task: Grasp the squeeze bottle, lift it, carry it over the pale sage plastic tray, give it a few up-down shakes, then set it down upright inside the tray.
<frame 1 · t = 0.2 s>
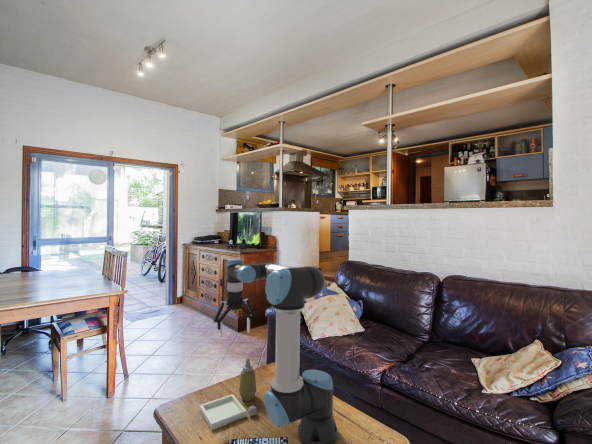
hand: (235, 333, 147), 27 cm above the table, fingers open, 13 cm apart
tray: (222, 413, 127), on the table
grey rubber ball: (252, 415, 126), on the table
squeeze bottle: (247, 398, 139), on the table
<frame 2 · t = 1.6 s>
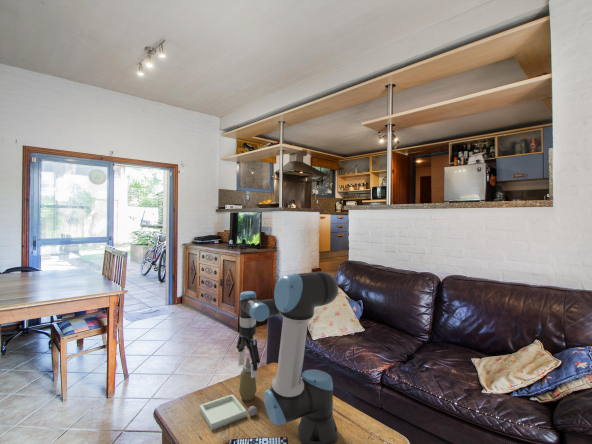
hand: (247, 370, 140), 12 cm above the table, fingers open, 13 cm apart
nothing on the table moved.
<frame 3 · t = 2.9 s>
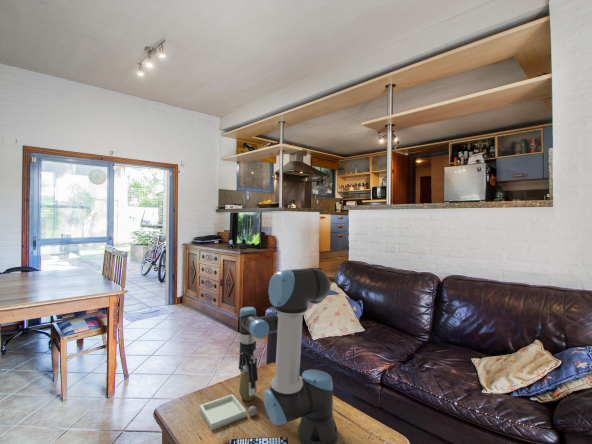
hand: (247, 390, 139), 3 cm above the table, fingers closed on squeeze bottle, 8 cm apart
squeeze bottle: (247, 398, 139), on the table, touching gripper
everything else where it was.
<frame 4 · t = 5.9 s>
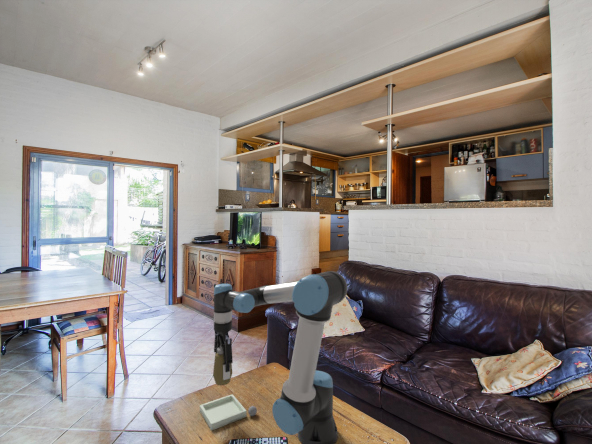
hand: (222, 374, 127), 17 cm above the table, fingers closed on squeeze bottle, 8 cm apart
squeeze bottle: (222, 382, 127), point 13 cm above the table, touching gripper
everything else where it was.
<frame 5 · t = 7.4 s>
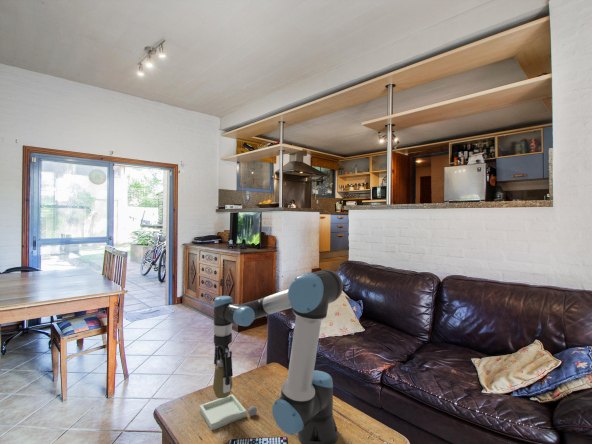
hand: (222, 387, 127), 11 cm above the table, fingers closed on squeeze bottle, 8 cm apart
squeeze bottle: (222, 395, 127), point 8 cm above the table, touching gripper
everything else where it was.
when the fingers open (6 cm above the table, at t = 8.8 s): squeeze bottle drops 1 cm, resting on tray.
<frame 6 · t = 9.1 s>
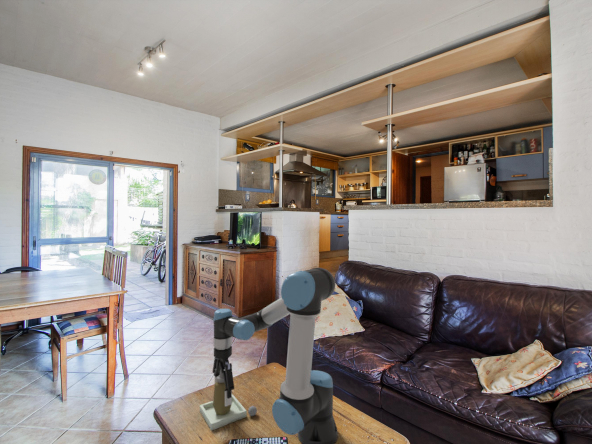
hand: (222, 397, 127), 7 cm above the table, fingers open, 11 cm apart
squeeze bottle: (222, 412, 127), point 1 cm above the table, touching tray
everything else where it was.
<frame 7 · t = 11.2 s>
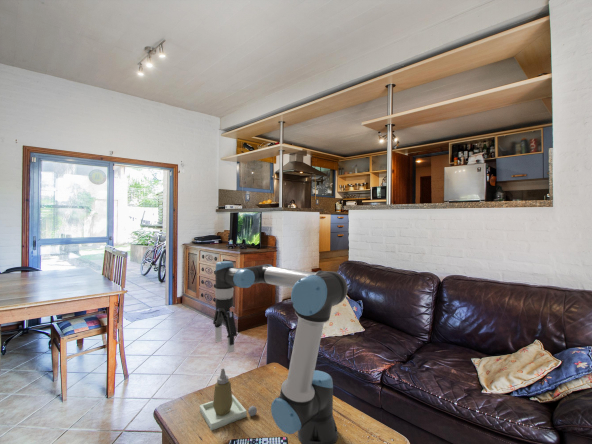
hand: (224, 346, 130), 28 cm above the table, fingers open, 13 cm apart
nothing on the table moved.
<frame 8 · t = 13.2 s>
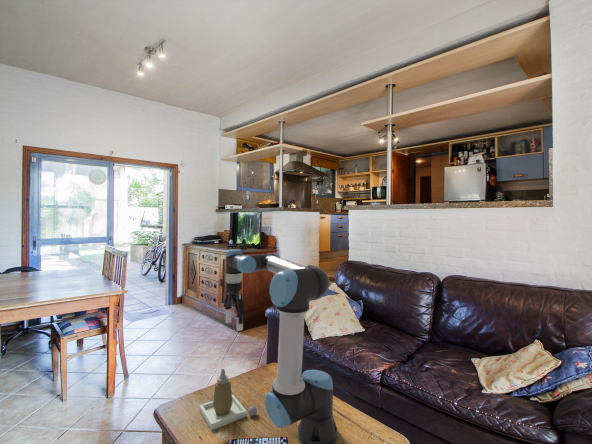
hand: (233, 326, 143), 32 cm above the table, fingers open, 13 cm apart
nothing on the table moved.
at the end: squeeze bottle inside the target area on the tray (0.1 cm from its centre), point 0.6 cm above the tray's base; squeeze bottle tilted 0°; the gripper is holding nothing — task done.
